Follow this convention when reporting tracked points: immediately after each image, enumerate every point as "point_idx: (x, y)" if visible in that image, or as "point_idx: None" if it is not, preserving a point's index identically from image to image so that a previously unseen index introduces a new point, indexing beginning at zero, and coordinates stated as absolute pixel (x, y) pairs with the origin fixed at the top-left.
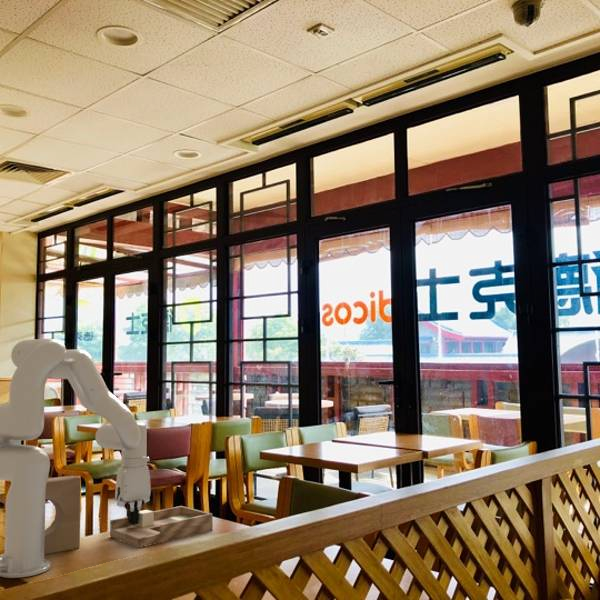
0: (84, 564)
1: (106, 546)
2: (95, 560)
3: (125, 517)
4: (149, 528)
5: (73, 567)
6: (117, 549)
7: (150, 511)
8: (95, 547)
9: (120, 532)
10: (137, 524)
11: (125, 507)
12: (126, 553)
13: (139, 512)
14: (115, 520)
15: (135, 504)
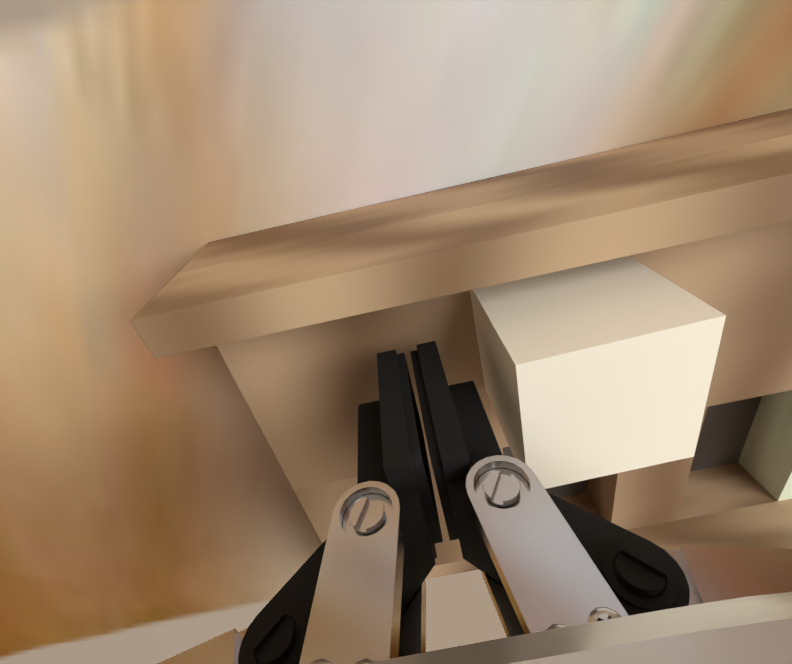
0: (64, 622)
1: (170, 454)
2: (113, 602)
3: (368, 284)
4: (508, 445)
5: (17, 633)
6: (233, 521)
7: (671, 438)
8: (91, 443)
9: (266, 438)
10: (477, 322)
11: (302, 593)
12: (269, 578)
13: (540, 420)
14: (209, 344)
15: (519, 548)
